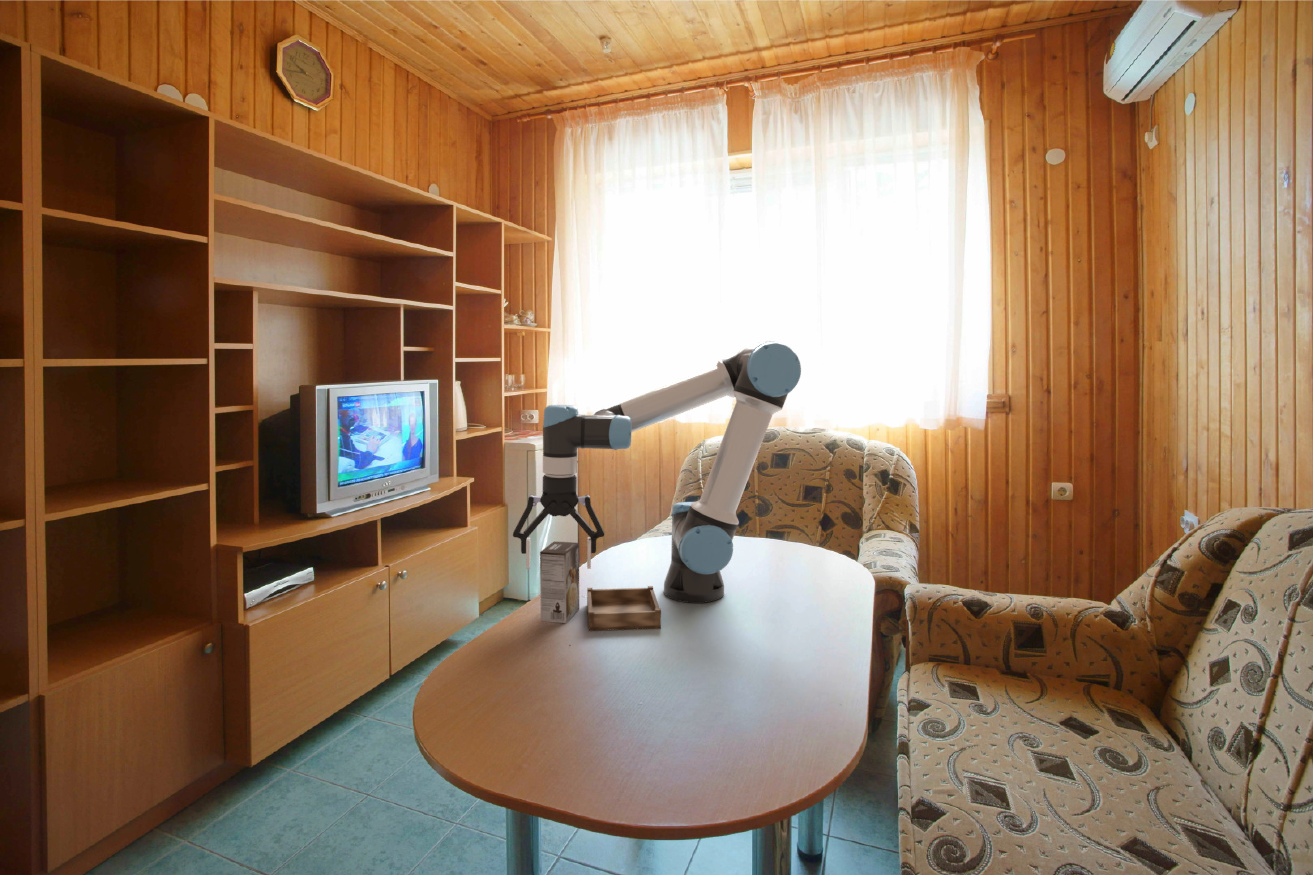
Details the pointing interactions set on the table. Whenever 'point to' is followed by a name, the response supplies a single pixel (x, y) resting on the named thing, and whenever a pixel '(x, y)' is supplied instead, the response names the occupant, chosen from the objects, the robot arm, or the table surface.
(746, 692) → the table surface
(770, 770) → the table surface
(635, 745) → the table surface
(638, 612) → the crate
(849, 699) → the table surface
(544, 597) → the coffee box
